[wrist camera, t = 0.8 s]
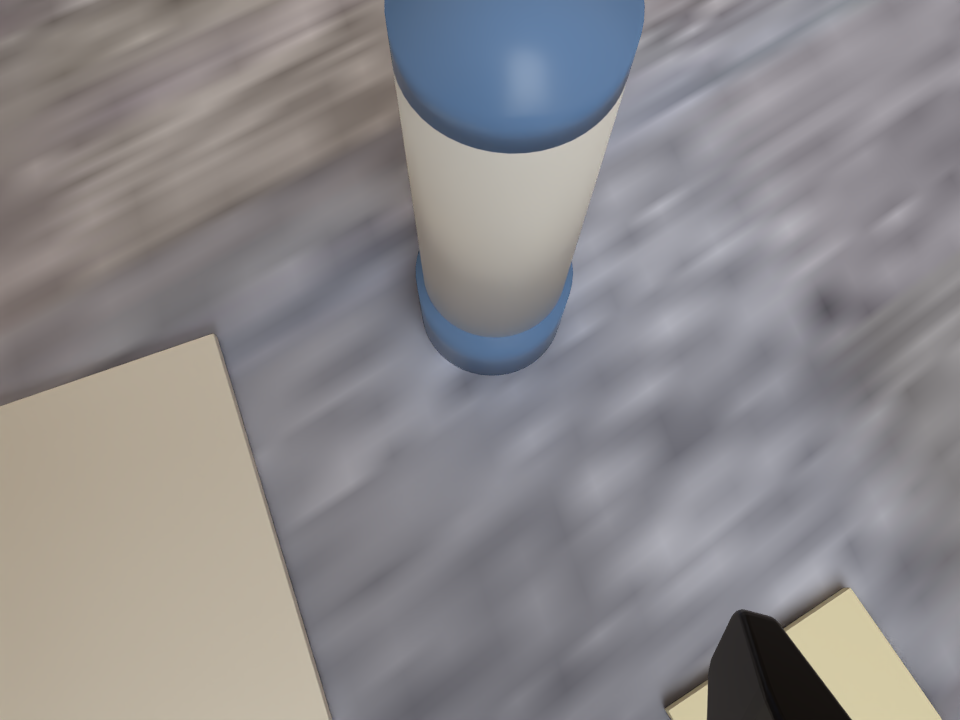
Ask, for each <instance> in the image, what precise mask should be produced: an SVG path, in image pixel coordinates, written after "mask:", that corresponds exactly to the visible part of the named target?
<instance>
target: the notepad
mask: <svg viewBox="0 0 960 720" xmlns="http://www.w3.org/2000/svg"><path fill="white" fill-rule="evenodd" d="M0 720H332V717H331V714H330V710H329V707H328V704H327V700H326V697H325V694H324V690H323V687H322V684H321V680H320V677H319V674H318V671H317V667H316V664H315V661H314V657H313V654H312V651H311V647H310V644H309V641H308V637H307V634H306V631H305V627H304V624H303V621H302V617H301V614H300V611H299V607H298V604H297V601H296V597H295V594H294V591H293V587H292V584H291V581H290V577H289V574H288V571H287V567H286V564H285V561H284V557H283V554H282V551H281V547H280V544H279V541H278V537H277V534H276V531H275V527H274V524H273V521H272V518H271V514H270V511H269V508H268V504H267V501H266V498H265V494H264V491H263V488H262V484H261V481H260V478H259V474H258V471H257V468H256V464H255V461H254V458H253V454H252V451H251V448H250V444H249V441H248V438H247V434H246V431H245V428H244V424H243V421H242V418H241V414H240V411H239V408H238V404H237V401H236V398H235V394H234V391H233V388H232V384H231V381H230V378H229V374H228V371H227V368H226V365H225V361H224V358H223V355H222V351H221V348H220V345H219V341H218V338H217V337H216V336H215V335H214V334H210V335H207V336H204V337H201V338H199V339H196V340H193V341H190V342H187V343H184V344H181V345H178V346H175V347H172V348H169V349H166V350H163V351H161V352H158V353H155V354H152V355H149V356H146V357H143V358H140V359H137V360H134V361H131V362H128V363H125V364H123V365H120V366H117V367H114V368H111V369H108V370H105V371H102V372H99V373H96V374H93V375H90V376H87V377H84V378H82V379H79V380H76V381H73V382H70V383H67V384H64V385H61V386H58V387H55V388H52V389H49V390H46V391H44V392H41V393H38V394H35V395H32V396H29V397H26V398H23V399H20V400H17V401H14V402H11V403H8V404H6V405H3V406H0Z"/></svg>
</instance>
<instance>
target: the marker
mask: <svg viewBox="0 0 960 720" xmlns="http://www.w3.org/2000/svg"><path fill="white" fill-rule="evenodd" d="M644 8H645V6H644V0H385V18H386V25H387V32H388V39H389V45H390V52H391V59H392V66H393V73H394V79H395V86H396V93H397V100H398V107H399V114H400V120H401V127H402V134H403V141H404V148H405V154H406V161H407V168H408V175H409V182H410V189H411V195H412V202H413V209H414V216H415V223H416V229H417V236H418V243H419V252H418V256H417V262H416V281H417V287H418V293H419V299H420V305H421V311H422V317H423V322H424V326H425V329H426V332H427V335H428V337H429V339H430V341H431V342H432V344H433V345H434V347H435V348H436V349H437V351H438V352H439V353H440V354H441V355H442V356H443V357H444V358H445V359H446V360H448V361H449V362H451V363H452V364H454V365H455V366H457V367H459V368H461V369H463V370H466V371H469V372H471V373H476V374H480V375H503V374H509V373H512V372H515V371H518V370H520V369H523V368H525V367H527V366H528V365H530V364H532V363H533V362H534V361H536V360H537V359H538V358H539V357H540V356H541V355H542V354H543V353H544V352H545V351H546V350H547V349H548V347H549V346H550V344H551V343H552V341H553V339H554V337H555V335H556V332H557V329H558V327H559V324H560V321H561V318H562V315H563V312H564V309H565V306H566V303H567V300H568V297H569V294H570V290H571V285H572V277H573V268H572V258H573V255H574V252H575V248H576V245H577V242H578V239H579V235H580V232H581V229H582V226H583V222H584V219H585V216H586V213H587V209H588V206H589V203H590V200H591V196H592V193H593V190H594V187H595V183H596V180H597V177H598V173H599V170H600V167H601V164H602V160H603V157H604V154H605V151H606V147H607V144H608V141H609V138H610V134H611V131H612V128H613V125H614V121H615V118H616V115H617V112H618V108H619V105H620V102H621V98H622V95H623V92H624V89H625V85H626V82H627V79H628V76H629V72H630V69H631V66H632V63H633V59H634V56H635V53H636V50H637V46H638V43H639V40H640V37H641V33H642V28H643V23H644Z"/></svg>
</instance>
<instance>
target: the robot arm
mask: <svg viewBox="0 0 960 720" xmlns="http://www.w3.org/2000/svg"><path fill="white" fill-rule="evenodd" d="M707 720H852V719H851V718H850V717H849V715H848V714H847V713H846V711H845V710H844V709H843V707H842V706H841V705H840V703H839V702H838V701H837V699H836V698H835V697H834V695H833V694H832V693H831V691H830V690H829V689H828V687H827V686H826V685H825V683H824V682H823V681H822V679H821V678H820V677H819V675H818V674H817V673H816V671H815V670H814V669H813V668H812V666H811V665H810V664H809V662H808V661H807V660H806V658H805V657H804V656H803V654H802V653H801V652H800V650H799V649H798V648H797V646H796V645H795V644H794V642H793V641H792V640H791V638H790V637H789V636H788V634H787V633H786V632H785V630H784V629H783V628H782V626H781V625H780V624H779V623H778V622H777V621H776V620H775V619H774V618H772V617H770V616H767V615H763V614H759V613H756V612H752V611H748V610H743V609H742V610H738V611H736V612H735V613H734V614H733V616H732V617H731V619H730V621H729V623H728V625H727V627H726V629H725V632H724V634H723V636H722V638H721V640H720V642H719V644H718V646H717V648H716V650H715V652H714V654H713V657H712V659H711V663H710V667H709V673H708V696H707Z"/></svg>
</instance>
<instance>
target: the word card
mask: <svg viewBox="0 0 960 720" xmlns="http://www.w3.org/2000/svg"><path fill="white" fill-rule="evenodd" d="M784 630H785V632H786V633H787V634H788V636H789V637H790V638H791V640H792V641H793V642H794V644H795V645H796V646H797V648H798V649H799V650H800V652H801V653H802V654H803V656H804V657H805V658H806V660H807V661H808V662H809V664H810V665H811V666H812V668H813V669H814V670H815V671H816V673H817V674H818V675H819V677H820V678H821V679H822V681H823V682H824V683H825V685H826V686H827V687H828V689H829V690H830V691H831V693H832V694H833V695H834V697H835V698H836V699H837V701H838V702H839V703H840V705H841V706H842V707H843V709H844V710H845V711H846V713H847V714H848V715H849V717H850V718H851V719H852V720H942V719H941V717H940V716H939V714H938V713H937V712H936V710H935V709H934V707H933V706H932V704H931V703H930V702H929V700H928V699H927V697H926V696H925V694H924V693H923V691H922V690H921V689H920V687H919V686H918V684H917V683H916V681H915V680H914V679H913V677H912V676H911V674H910V673H909V671H908V670H907V668H906V667H905V666H904V664H903V663H902V661H901V660H900V658H899V657H898V656H897V654H896V653H895V651H894V650H893V648H892V647H891V645H890V644H889V643H888V641H887V640H886V638H885V637H884V635H883V634H882V633H881V631H880V630H879V628H878V627H877V625H876V624H875V622H874V621H873V620H872V618H871V617H870V615H869V614H868V612H867V611H866V610H865V608H864V607H863V605H862V604H861V602H860V601H859V599H858V598H857V597H856V595H855V594H854V592H853V591H852V589H851V588H843V589H841V590H840V591H838V592H837V593H835V594H834V595H832V596H831V597H830V598H828V599H827V600H825V601H824V602H822V603H821V604H819V605H818V606H816V607H815V608H813V609H812V610H810V611H809V612H807V613H806V614H804V615H803V616H801V617H800V618H798V619H797V620H795V621H794V622H792V623H791V624H789V625H788V626H787V627H785V628H784ZM707 696H708V680H707V681H705V682H704V683H702V684H701V685H699V686H698V687H696V688H695V689H693V690H692V691H690V692H689V693H687V694H686V695H684V696H683V697H681V698H680V699H678V700H677V701H675V702H674V703H672V704H671V705H669V706H668V707H666V708H665V710H666V712H667V714H668V715H669V717H670V718H671V720H707Z"/></svg>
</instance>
